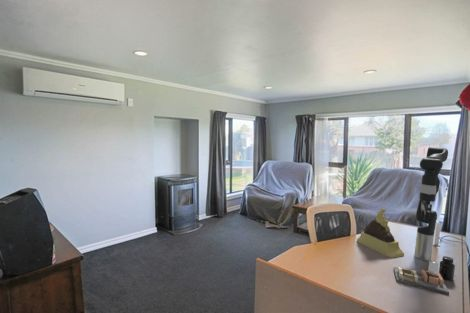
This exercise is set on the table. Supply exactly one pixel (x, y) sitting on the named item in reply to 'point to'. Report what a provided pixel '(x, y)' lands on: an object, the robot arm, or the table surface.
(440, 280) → the socket
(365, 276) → the table surface
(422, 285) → the mount board
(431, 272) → the peg
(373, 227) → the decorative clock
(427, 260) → the robot arm
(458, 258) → the table surface
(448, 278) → the supplement bottle
